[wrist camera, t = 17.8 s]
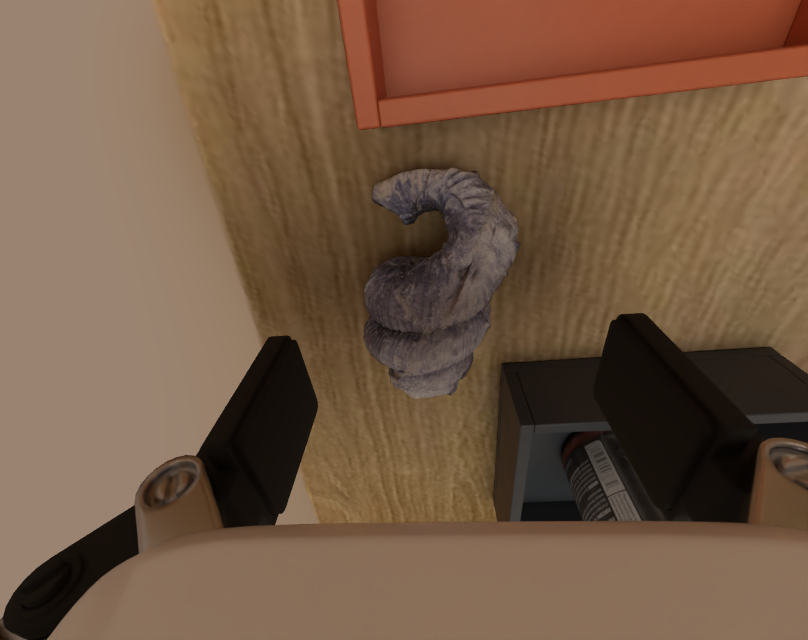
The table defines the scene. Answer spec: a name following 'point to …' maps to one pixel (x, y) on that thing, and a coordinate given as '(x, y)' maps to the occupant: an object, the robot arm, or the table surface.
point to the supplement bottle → (605, 480)
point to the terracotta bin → (557, 52)
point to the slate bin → (578, 411)
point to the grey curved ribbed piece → (438, 280)
